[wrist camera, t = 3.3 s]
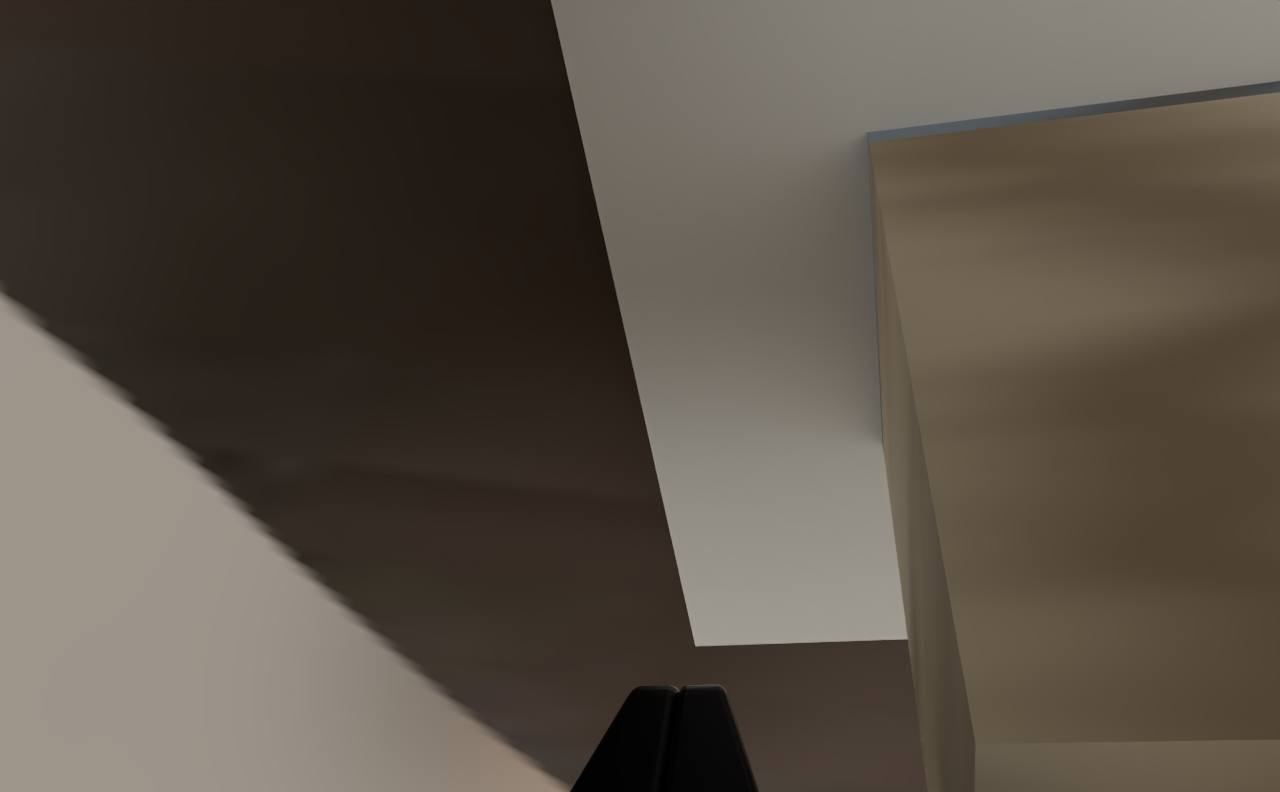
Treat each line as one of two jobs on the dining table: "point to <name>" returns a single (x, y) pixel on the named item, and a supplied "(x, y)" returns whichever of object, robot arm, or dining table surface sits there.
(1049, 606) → the birch block
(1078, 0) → the grey mat
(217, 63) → the dining table surface
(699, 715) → the robot arm
